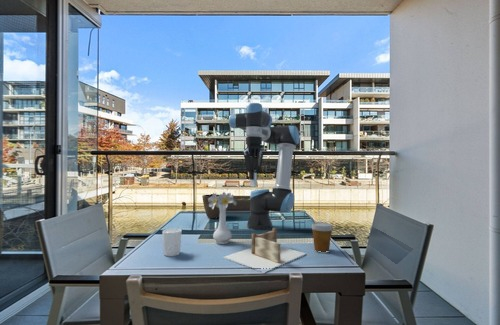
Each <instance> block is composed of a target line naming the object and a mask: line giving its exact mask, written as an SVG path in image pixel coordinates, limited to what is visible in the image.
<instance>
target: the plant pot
mask: <svg viewBox="0 0 500 325" xmlns="http://www.w3.org/2000/svg"><path fill="white" fill-rule="evenodd" d="M212 195H213V193H212V194H203V195H202V196H201V197H202V204H203V207H204V212H205V214H206V217H207V219H209V218H216V217H218V218H220V210H219V208H218V207H216V205H215V207H214V209H213V210H212V208H211V207H209V206H208V205H209V203H210V202H208V201H209V200H208V198H210V197H211V196H212ZM219 195H220V194H217V193H216V196H219ZM216 219H217V218H216Z"/></svg>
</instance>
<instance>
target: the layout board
mask: <svg viewBox="0 0 500 325" xmlns="http://www.w3.org/2000/svg"><path fill="white" fill-rule="evenodd" d="M305 254H306V255H307V253H306V252H301V251H298V250H294V249H292V248H288V247H284V246H281V248H280V262H275V261H272V260H270V259H267V258H264V257H262V256H259V255H256V254H252V247H250V248H246V249H244V250H239V251H237V252H234V253H232V254H227V255H225V256H223V259H224V258H225V260H227V259H228V260H227V261H229V260H231V261H230V262H232V261H234V262H233V263H235V262H237V263H239V264H238V265H240V264H242V265H241V266H243V265H245V266H249V267H252V268H261V269H263V268H264V269H266V268H267V269H269V268H270V269H272V268H275V267H278V266H280V265H282V266H284V265H286V264H285V263H287V262H289V263H291V262H293V261H295V260H294V259H296V260H297V258H298V259H300V258H302V257H304V256H303V255H305ZM306 255H305V256H306ZM301 256H302V257H301ZM299 257H300V258H299ZM292 260H293V261H292ZM290 261H291V262H290ZM237 263H236V264H237ZM283 264H284V265H283ZM287 264H288V263H287ZM245 266H244V267H245ZM280 267H281V266H280ZM278 268H279V267H278ZM275 269H276V268H275Z"/></svg>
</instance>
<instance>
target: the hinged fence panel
mask: <svg viewBox="0 0 500 325" xmlns="http://www.w3.org/2000/svg"><path fill="white" fill-rule="evenodd" d="M281 245H282V244H281V243H280V242H277V243H276V242H273V241H270V240H266V239H263V238H260V237H255V254H256V255H259V256H262V257H264V258H267V259H270V260H272V261H275V262H280V248H281V247H282V246H281Z"/></svg>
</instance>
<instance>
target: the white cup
mask: <svg viewBox="0 0 500 325" xmlns="http://www.w3.org/2000/svg"><path fill="white" fill-rule="evenodd" d="M182 232H183V231H182V229H180V228H166V229H163V230H162V248H163V255H164V256H166V257H176V256H178V255H180V253H181V247H182V246H181V245H182Z"/></svg>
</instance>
